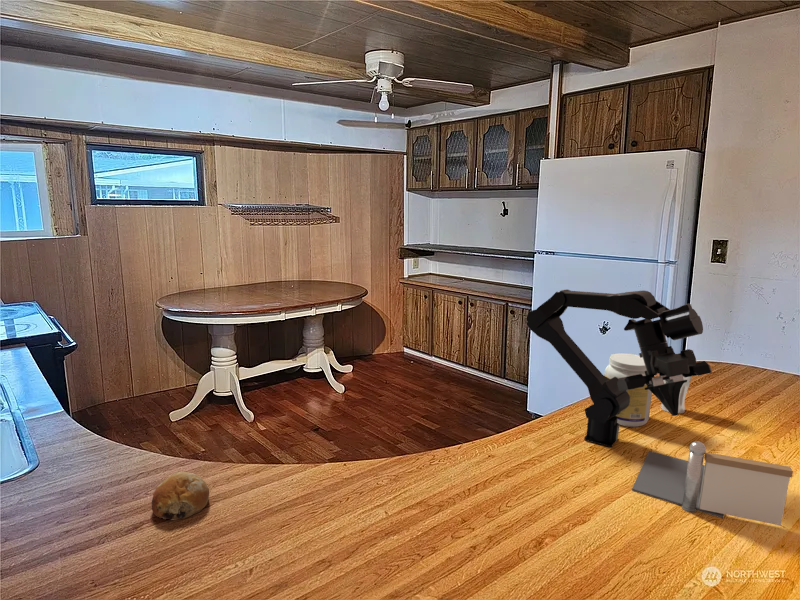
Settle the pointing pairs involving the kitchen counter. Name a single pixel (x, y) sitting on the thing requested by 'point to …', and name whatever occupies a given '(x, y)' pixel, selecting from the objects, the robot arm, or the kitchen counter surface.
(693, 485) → the gate post
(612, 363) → the supplement tub
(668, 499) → the mat
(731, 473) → the panel
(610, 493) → the kitchen counter surface
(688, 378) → the beer glass
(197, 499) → the bread roll
